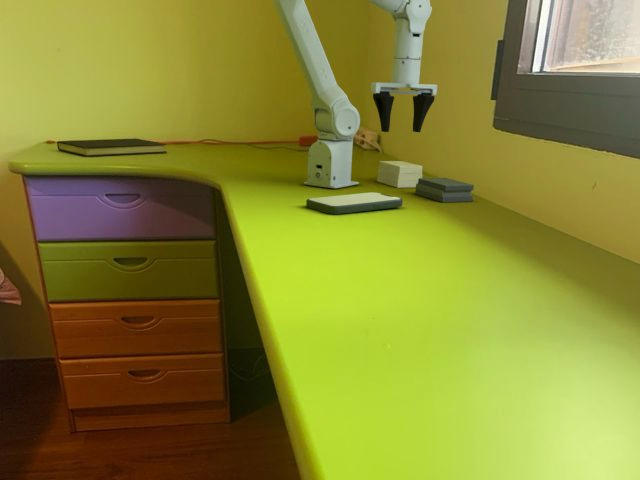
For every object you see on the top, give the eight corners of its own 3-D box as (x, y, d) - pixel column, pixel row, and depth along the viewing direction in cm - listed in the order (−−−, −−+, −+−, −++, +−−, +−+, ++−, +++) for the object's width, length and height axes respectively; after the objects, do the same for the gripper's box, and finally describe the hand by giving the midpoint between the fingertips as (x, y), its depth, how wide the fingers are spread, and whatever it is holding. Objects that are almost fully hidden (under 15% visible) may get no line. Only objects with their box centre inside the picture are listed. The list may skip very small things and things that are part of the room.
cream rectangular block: (421, 187, 147) (423, 173, 145) (397, 187, 145) (398, 173, 143) (399, 180, 154) (400, 167, 153) (376, 181, 152) (377, 167, 151)
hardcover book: (166, 152, 185) (165, 143, 184) (86, 156, 171) (85, 147, 170) (135, 146, 196) (135, 138, 194) (57, 150, 181) (56, 140, 180)
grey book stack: (472, 201, 133) (474, 184, 131) (442, 202, 130) (444, 185, 129) (443, 193, 141) (445, 177, 139) (415, 193, 138) (416, 178, 137)
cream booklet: (422, 173, 145) (422, 166, 145) (399, 173, 143) (399, 166, 143) (400, 167, 153) (401, 160, 152) (378, 168, 151) (379, 161, 150)
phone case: (332, 217, 114) (405, 208, 122) (332, 206, 113) (406, 198, 122) (303, 208, 120) (374, 200, 129) (303, 198, 120) (374, 191, 128)
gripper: (384, 57, 134) (379, 133, 140) (448, 61, 139) (440, 133, 146) (368, 57, 140) (363, 130, 146) (429, 60, 145) (423, 130, 151)
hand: (400, 131), depth 146 cm, fingers open, 7 cm apart
